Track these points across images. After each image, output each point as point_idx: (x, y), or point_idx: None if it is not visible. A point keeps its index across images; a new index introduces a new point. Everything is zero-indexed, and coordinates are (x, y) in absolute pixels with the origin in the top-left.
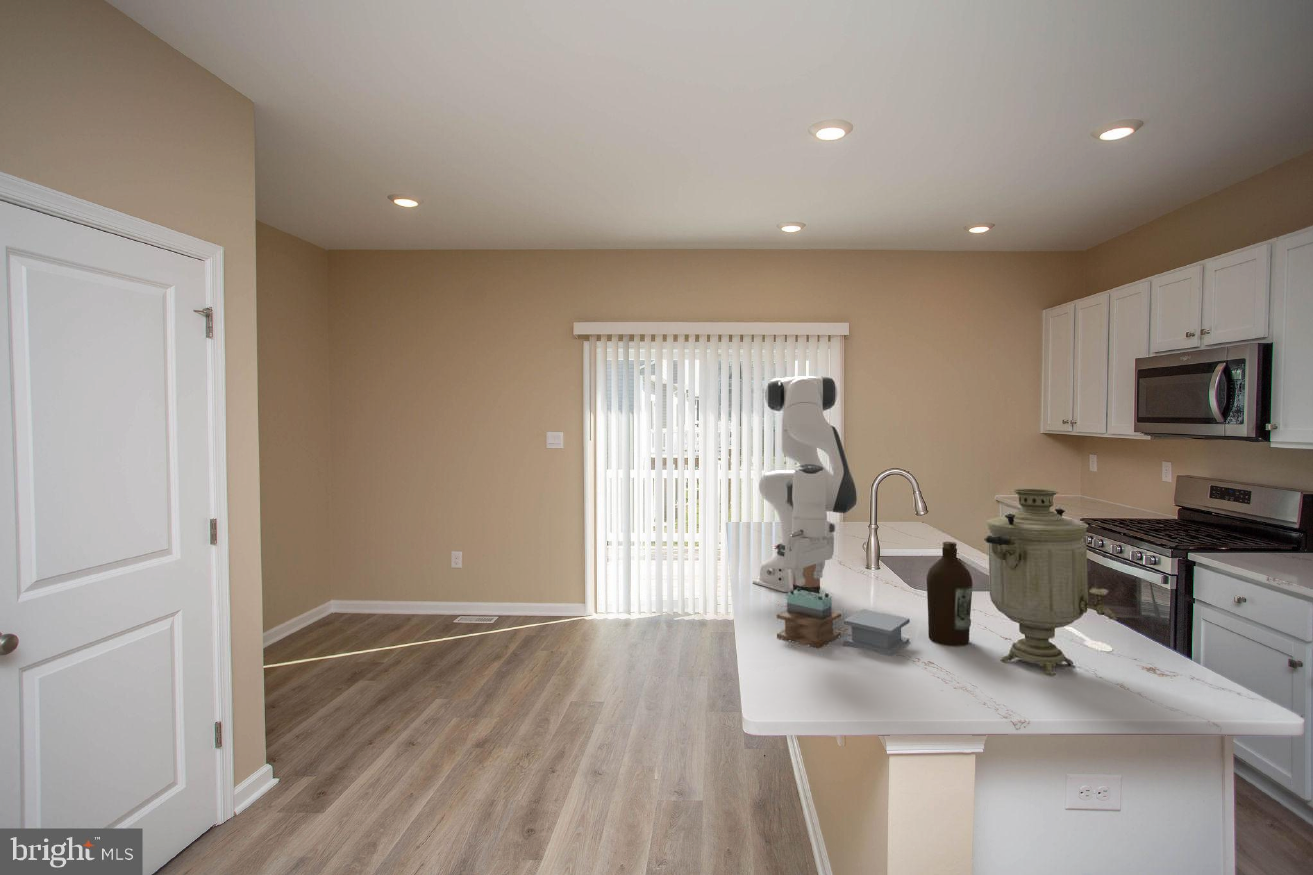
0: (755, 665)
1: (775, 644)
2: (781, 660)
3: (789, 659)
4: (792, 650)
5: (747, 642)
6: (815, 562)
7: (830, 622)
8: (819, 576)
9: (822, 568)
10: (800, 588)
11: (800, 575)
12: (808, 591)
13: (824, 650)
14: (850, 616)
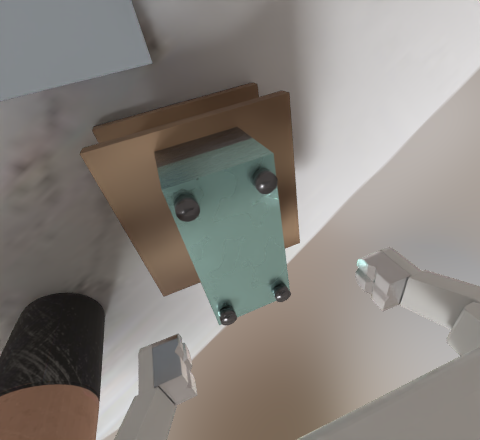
0: (432, 101)
1: (308, 175)
2: (383, 85)
3: (368, 77)
4: (313, 121)
5: (335, 212)
6: (366, 431)
7: (189, 117)
8: (179, 345)
9: (143, 419)
10: (227, 314)
11: (461, 283)
12: (68, 367)
13: (251, 60)
14: (68, 83)
